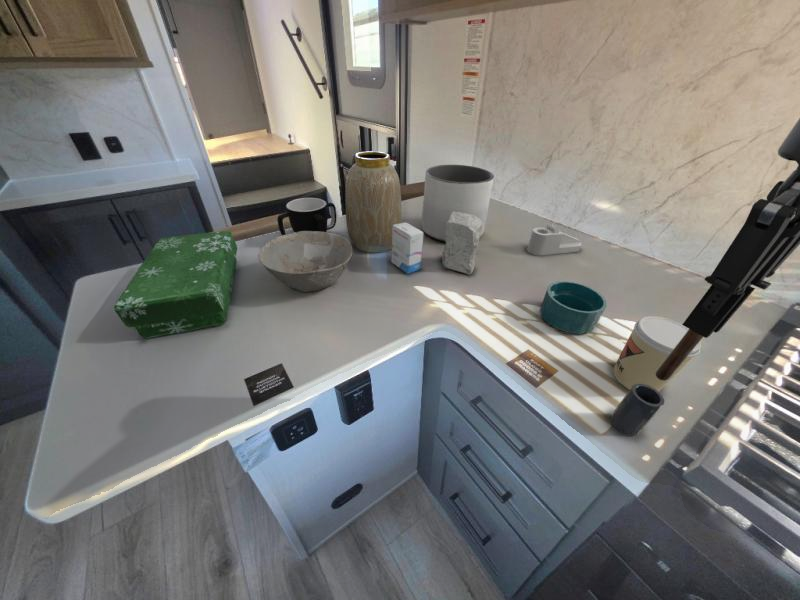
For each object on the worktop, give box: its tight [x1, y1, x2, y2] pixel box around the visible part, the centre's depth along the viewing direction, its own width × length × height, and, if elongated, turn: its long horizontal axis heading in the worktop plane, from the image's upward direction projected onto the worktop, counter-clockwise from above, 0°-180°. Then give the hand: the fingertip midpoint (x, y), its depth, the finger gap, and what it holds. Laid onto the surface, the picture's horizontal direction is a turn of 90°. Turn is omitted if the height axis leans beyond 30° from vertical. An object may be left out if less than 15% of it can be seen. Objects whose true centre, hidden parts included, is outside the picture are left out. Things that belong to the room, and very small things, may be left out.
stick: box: [656, 328, 704, 381], centre depth 40 cm, size 2×2×20 cm
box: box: [113, 230, 238, 339], centre depth 76 cm, size 32×18×10 cm, turn 17°
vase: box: [344, 151, 402, 254], centre depth 96 cm, size 17×17×27 cm
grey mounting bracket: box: [526, 223, 582, 256], centre depth 101 cm, size 6×18×8 cm, turn 103°
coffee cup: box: [613, 315, 702, 393], centre depth 57 cm, size 9×9×12 cm
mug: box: [277, 197, 337, 236], centre depth 101 cm, size 16×16×12 cm
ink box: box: [391, 222, 424, 275], centre depth 89 cm, size 9×5×12 cm, turn 36°
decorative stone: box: [441, 211, 483, 276], centre depth 89 cm, size 10×9×15 cm
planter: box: [421, 164, 495, 243], centre depth 107 cm, size 22×22×20 cm
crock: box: [609, 384, 665, 437], centre depth 50 cm, size 4×4×8 cm
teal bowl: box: [539, 280, 607, 335], centre depth 73 cm, size 12×12×6 cm
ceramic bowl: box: [257, 231, 353, 293], centre depth 81 cm, size 22×23×10 cm
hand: (700, 327), depth 40 cm, fingers closed on stick, 1 cm apart
